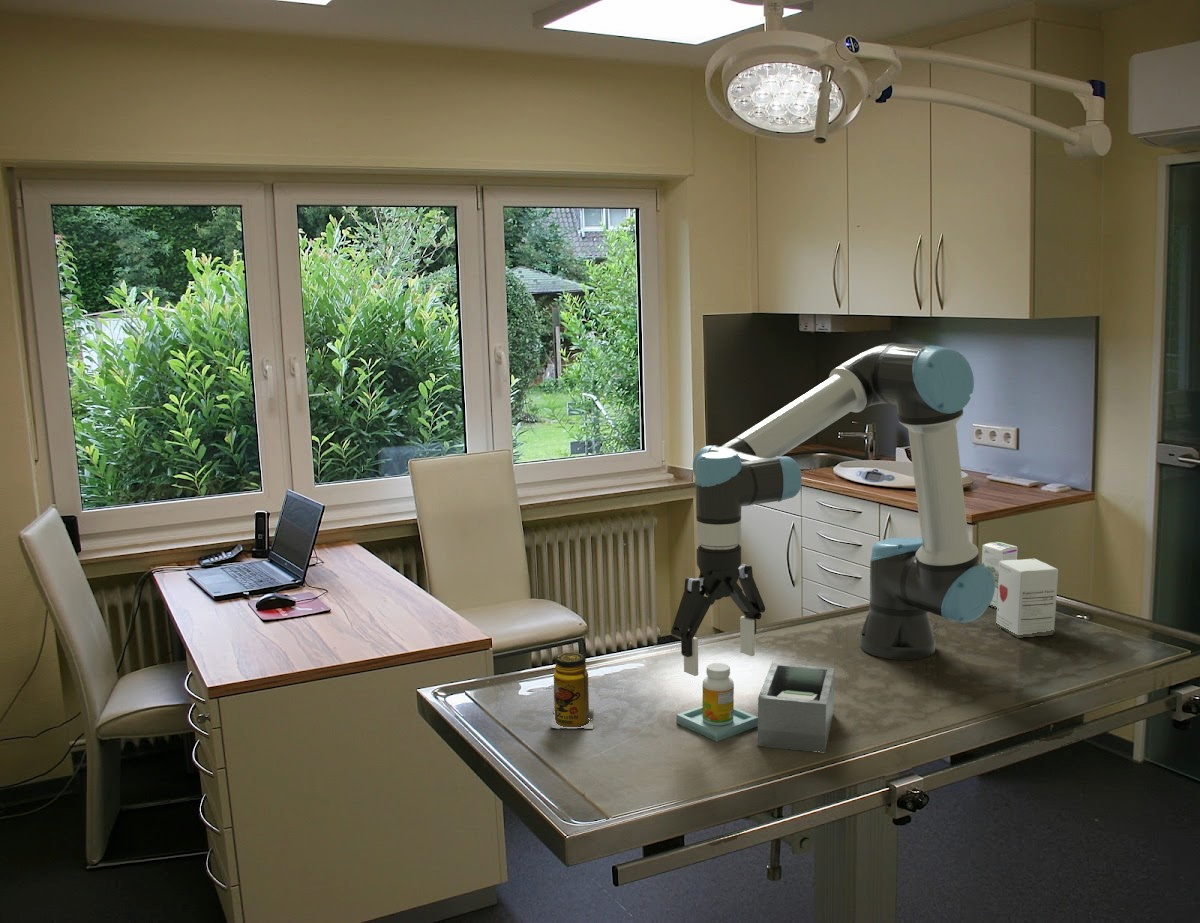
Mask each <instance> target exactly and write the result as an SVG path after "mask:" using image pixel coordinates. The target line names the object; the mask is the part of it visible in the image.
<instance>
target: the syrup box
mask: <svg viewBox="0 0 1200 923" xmlns="http://www.w3.org/2000/svg"><path fill="white" fill-rule="evenodd" d="M1018 550H1019V549H1018V546H1016V545H1012V544H1009V543H1005V542H1000V541H993V542H988V543H985V544H982V551H981V552H982V553H981V565H982V566H985V567H987V568H988V569H989V570H990V571H991V572H992V573H993V575H994V578H995V592H994V596H993V599H992V601H991V603H990V605H993V606H996V607H997V599H998V580H999V562H1000V561H1003V560H1018Z"/></svg>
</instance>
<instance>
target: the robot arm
mask: <svg viewBox="0 0 1200 923" xmlns="http://www.w3.org/2000/svg"><path fill="white" fill-rule="evenodd" d="M973 373H974V372H973V370H972V367H971V364H970V363H969V361H968V360H967V358H966V357H965V356H964V355H963V354H961V353H960V352H959V351H958V350H956V349H953V348H950V347H945V346H941V345H936V344H932V345H930V344H929V345H927V344H913V343H912V344H910V343H909V344H908V343H900V342H888V343H883V344H880V345H877V346H874V347H872V348H869V349H866V350H865V351H863V352H860V353H858V354H857V355H855V356H853V357H851V358H850V359H848V360H846V361H844V362H843V363H841V364H840V365H838V366H836V367H835V368H833V369H832V370H831V371H830V373H829V376H828V378H827V379H826V380H824V381H823V382H821V383H819V384H818V385H816V386H815V387H813V388H812V389H810V390H809V391H807V392H806V393H804V394H802V395H801V396H799V397H797V398H796V399H794V400H793V401H791V402H789V403H787V404H786V405H784V406H783V407H782V408H779V410H777V411H775V412H774V413H772V414H770V415H769V416H767V417H766V418H764V419H763V420H761V421H760V422H758V423H756V424H755V425H753V426H751V427H750V428H748V429H747V430H745V431H743V432H742V433H741V434H738V436H736V437H734V438H733V439H731V440H728V442H726V443H723V444H722V445H721V446H720V445H717V444H716V445H715V444H714V445H706V446H703V447H702V448H700V449H699V450H698V451H697V452H696V454H695V455H694V458H693V462H692V472H693V475H694V477H695V478H694V483H695V512H696V513H695V514H696V515H695V516H696V517H695V518H696V520H695V523H696V528H695V529H696V542H697V543H698V545H697V546H696V566H697V567H698V569H699V575H698V577H697V578H692V577H686V578H685V579H684V589H683V590H684V591H683V594H682V597H681V600H680V603H679V606H678V609H677V612H676V615H675V617H674V618H675V619H674V621H673V625H672V627H671V629H670V630H671V631H670V633H671V635H673V636H675V637H679V638H680V640H681V642H680V643H681V644H680V645H681V646H680V647H681V648H680V649H681V650H680V651H681V655H682V656H683V672H684V673H686V674H689V675H691V676H694V677H697V676H699V638H698V637H695V635H696V634H697V632H698V630H699V628H700V626H701V625H702V622H703V621H704V618H705V616H706V614H707V612H708V610H709V608H710V607H711V606H712V605H714V604H715V602H716V601H718V600H721V599H723V598H728V597H730V599H731V600H732V601H733V602H734V603H735V605H736V606H737V607H738V609H739V610H740V611H741V613H742V614H743V615H742V616H740V618H739V620H740V621H739V622H740V624H739V631H740V633H739V634H740V635H739V636H740V637H739V638H740V640H739V641H740V643H739V644H740V647H739V648H740V654H741V653H742V654H744V655H747V656H750V657H753V656H755V655H756V654H755V652H756V651H755V650H756V649H755V645H756V644H755V641H756V640H755V637H756V636H755V635H756V634H757V620H761V619H762V613H765V611H766V606H765V603H764V601H763V599H762V595H761V593H760V592H759V588H758V587H757V584H756V581H755V579H754V575H753V574H754V573H753V566H752V565H750V564H745V563H742V546H741V545H740V544H741V542H742V507H747V506H753V505H761V504H767V503H774V502H778V503H779V502H780V503H781V502H783V501H785V500H789V499H793V498H794V497H796V496H797V495H798V493H799V492H800V490H801V489H802V484H803V483H802V481H803V480H802V477H803V476H802V471H801V467H800V465H799V463H798V462H797V461H796V460H795V459H794V458H793V457H791V456H786V455H785V454H787V453H788V452H790V451H792V450H793V449H794V448H796V447H798V446H799V445H801V444H802V443H804V442H806V441H807V440H808V439H810V438H812V437H813V436H815V435H816V434H818V433H819V432H821V431H823V430H824V429H826V428H827V427H828V426H830V425H832V424H833V423H835V422H837V421H838V420H839V419H841V418H842V417H844V416H846V415H848V414H849V413H850V412H852V413H861V412H862V411H864V410H865V409H867V408H868V407H871V406H874V405H881V404H889V405H892V406H893V405H895V406H896V409H897V419H898V422H899V424H900V425H902V426H903V427H905V428H906V429H907V430H908V431H907V432H908V438H909V447H910V455H911V456H910V457H911V462H912V471H913V479H914V487H915V488H914V489H915V495H916V504H917V512H918V519H919V527H920V528H919V529H920V535H921V537H894V538H886V539H881V540H879V541H877V542H875V543H874V544H873V546H872V548H871V557H870V559H869V560H870V561H869V562H870V564H869V565H870V568H869V569H870V570H869V572H870V574H869V575H870V576H869V610H868V614H867V615H866V619H865V621H864V624H863V626H862V629H861V632H860V635H859V647H860V649H861V650H862V651H864V652H865V653H868V654H870V655H872V656H875V657H879V658H884V659H889V660H897V661H898V660H899V661H914V660H922V659H926V658H929V657H931V656H932V654H933V653H934V654H935V652H936V637H935V635H934V633H933V628H932V624H931V621H930V618H929V614H928V613H931V614H934V615H937V616H940V617H942V618H943V619H945V620H947V621H954V622H958V623H961V624H967V623H971V622H973V621H975V620H977V619H978V618H980V617H981V616H982V615H983V614H984V613H985V612H986V611H987V609H988V607H989V604H990V603H991V601H992V599H993V596H994V592H995V578H994V575H993V573H992V572H991V571H990V570H989V569H988V568H987V567H985V566H982V564H980V555H979V548H978V546H977V545H976V544H974V543H973V542H971V541H970V539H969V533H968V532H969V531H968V530H969V529H968V521H967V520H968V519H967V512H966V503H965V497H964V496H965V494H964V487H963V486H964V485H963V478H962V477H963V476H962V469H961V468H962V467H961V458H960V451H959V450H960V449H959V441H958V430H957V424H958V423H957V422H959V420H960V419H961V418H962V417H963V415H964V408H966V406H967V405H968V404H969V402H970V401H971V394H973V392H974V387H975V386H974V384H975V380H974V379H975V378H974V377H975V376H974V374H973ZM784 455H785V456H784ZM738 581H739V583H740V585H739V583H738ZM740 586H741V587H740ZM934 654H933V655H934ZM930 655H931V656H930Z"/></svg>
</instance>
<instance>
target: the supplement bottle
mask: <svg viewBox="0 0 1200 923" xmlns="http://www.w3.org/2000/svg"><path fill="white" fill-rule="evenodd" d="M730 675H731V667H730V666H729V665H728V664H726V663H724V662H723V663H721V662H714V663H709V664H708V665H707V666H706V676H705V677H704V678H703V679H702V705H701V706H702V718H703V721H704V722H706V723H708V724H710V725H715V726H722V725H727V724H730V723H731V722H732V721H733V716H734V707H735V706H734V704H735V702H734V700H735V699H734V698H735V696H734V695H735V692H734V690H735V686H734V685H735V684H734V682H735V681H734V680H733V679H732V678H731V677H730Z"/></svg>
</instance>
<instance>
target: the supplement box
mask: <svg viewBox="0 0 1200 923" xmlns="http://www.w3.org/2000/svg"><path fill="white" fill-rule="evenodd" d="M1058 580H1059V569H1058V568H1057V567H1054V566H1052V565H1050V564H1048V563H1046V562H1044V561H1041V560H1039V559H1037V558H1025V559H1017V560H1003V561H1000V562H999V580H998V599H997V609H996V620H995V622H996V623H997V624H999V625H1000V626H1002V627H1004V628H1006V629H1008V630H1009V631H1011V632H1013V633H1015V634H1017V635H1023V634H1032V633H1037V632H1046V631H1051V630H1054V631H1055V624H1056V623H1055V622H1056V610H1057V594H1058ZM996 623H995V624H996Z"/></svg>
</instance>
